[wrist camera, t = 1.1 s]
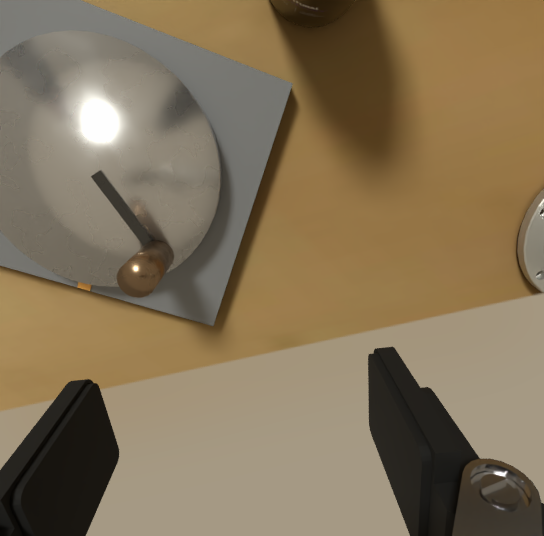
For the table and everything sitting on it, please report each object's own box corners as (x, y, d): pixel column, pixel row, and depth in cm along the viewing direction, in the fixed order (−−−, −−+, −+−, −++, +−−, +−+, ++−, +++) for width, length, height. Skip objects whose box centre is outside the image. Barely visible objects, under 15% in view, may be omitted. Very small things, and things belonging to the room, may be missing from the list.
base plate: (290, 86, 26) (292, 83, 25) (215, 318, 33) (212, 327, 31) (-27, -38, 23) (-47, -51, 22) (-44, 243, 30) (-61, 249, 28)
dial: (-72, 128, 25) (-179, 125, 19) (123, -22, 23) (72, -81, 16) (91, 315, 30) (48, 359, 24) (264, 210, 28) (266, 230, 22)
